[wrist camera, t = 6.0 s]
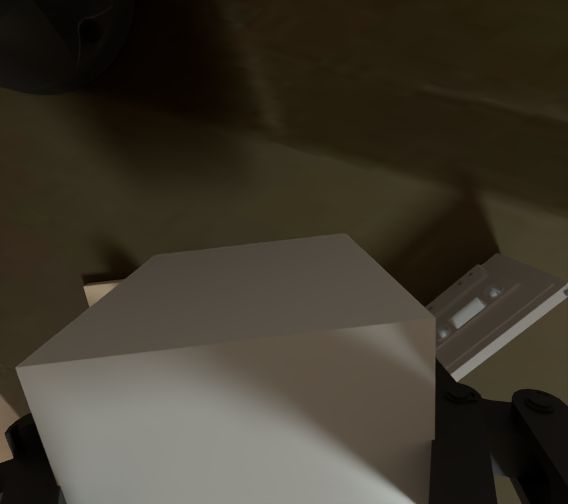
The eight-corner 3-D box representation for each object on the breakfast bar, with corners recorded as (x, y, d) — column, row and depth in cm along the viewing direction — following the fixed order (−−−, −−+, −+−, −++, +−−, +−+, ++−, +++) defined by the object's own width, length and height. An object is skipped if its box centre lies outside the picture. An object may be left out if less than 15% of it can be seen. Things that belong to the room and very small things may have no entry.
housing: (154, 254, 16) (15, 367, 7) (345, 233, 16) (435, 317, 7) (189, 415, 18) (115, 647, 10) (355, 395, 18) (433, 607, 10)
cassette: (402, 346, 32) (441, 401, 25) (389, 333, 32) (425, 385, 25) (505, 262, 31) (581, 294, 23) (494, 247, 30) (567, 275, 23)
